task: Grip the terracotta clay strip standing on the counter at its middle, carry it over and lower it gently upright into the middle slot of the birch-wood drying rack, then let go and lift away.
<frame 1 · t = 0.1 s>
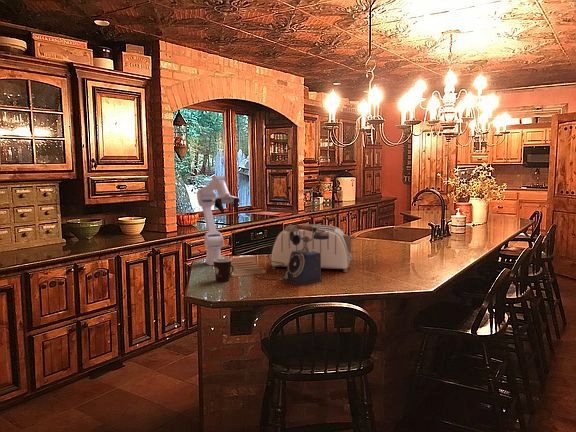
hand: (230, 211, 240), 32 cm above the worktop, tool tilted 50°, fingers open, 7 cm apart
drying rack: (243, 271, 250), on the worktop
clay strip: (243, 265, 264), on the worktop
rotary telephone: (291, 279, 235), on the worktop, touching drying rack
coffee mug: (223, 281, 229), on the worktop
toaster: (314, 267, 261), on the worktop
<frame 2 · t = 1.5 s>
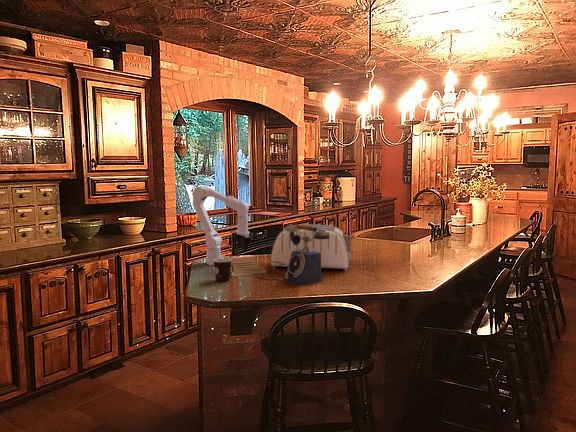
hand: (242, 248, 263), 9 cm above the worktop, tool pointing down, fingers open, 7 cm apart
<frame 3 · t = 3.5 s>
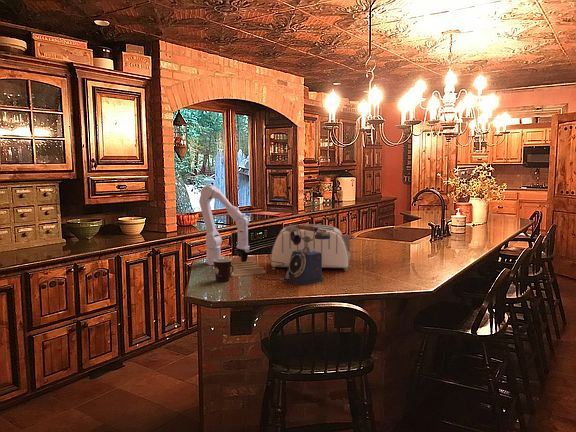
hand: (243, 262, 264), 1 cm above the worktop, tool pointing down, fingers closed on clay strip, 2 cm apart
clay strip: (243, 265, 264), on the worktop, touching gripper
rotary telephone: (292, 279, 236), on the worktop
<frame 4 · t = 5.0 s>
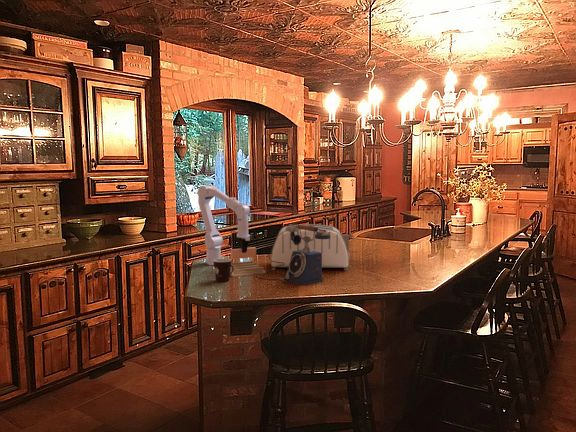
hand: (243, 252, 258), 8 cm above the worktop, tool pointing down, fingers closed on clay strip, 2 cm apart
clay strip: (243, 257, 259), point 5 cm above the worktop, touching gripper
rotary telephone: (292, 279, 235), on the worktop, touching drying rack
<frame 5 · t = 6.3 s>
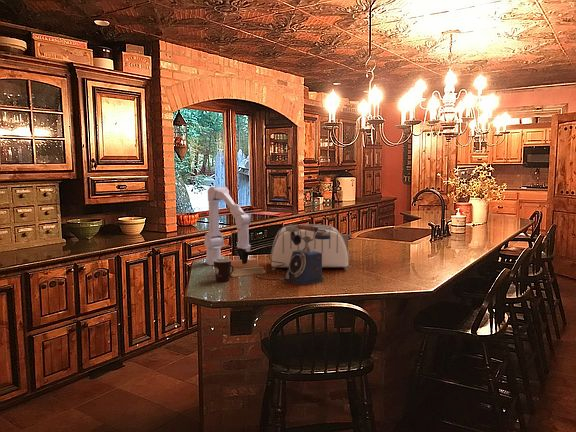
hand: (243, 263, 249), 4 cm above the worktop, tool pointing down, fingers closed on clay strip, 2 cm apart
clay strip: (243, 269, 250), point 1 cm above the worktop, touching drying rack, gripper
when the fingers open (4 cm above the worktop, at t = 6.6 s): clay strip stays where it is, resting on drying rack.
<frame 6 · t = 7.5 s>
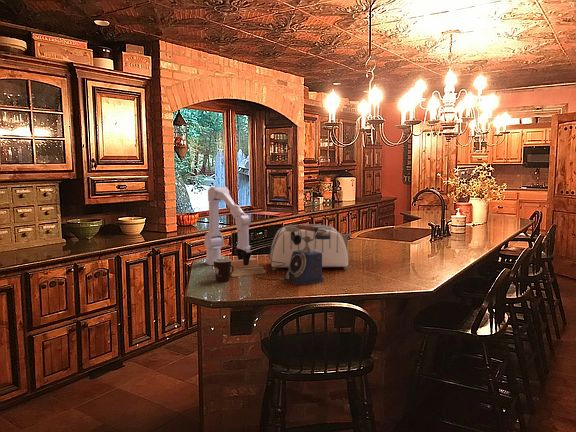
hand: (243, 263, 249), 4 cm above the worktop, tool pointing down, fingers open, 7 cm apart
clay strip: (243, 269, 250), point 1 cm above the worktop, touching drying rack
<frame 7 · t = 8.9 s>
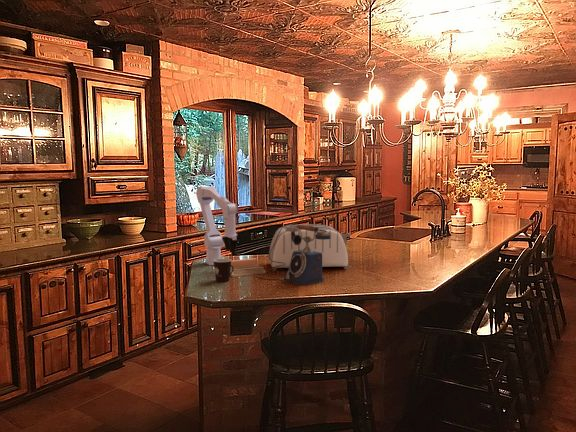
hand: (230, 251, 255), 9 cm above the worktop, tool pointing down, fingers open, 7 cm apart
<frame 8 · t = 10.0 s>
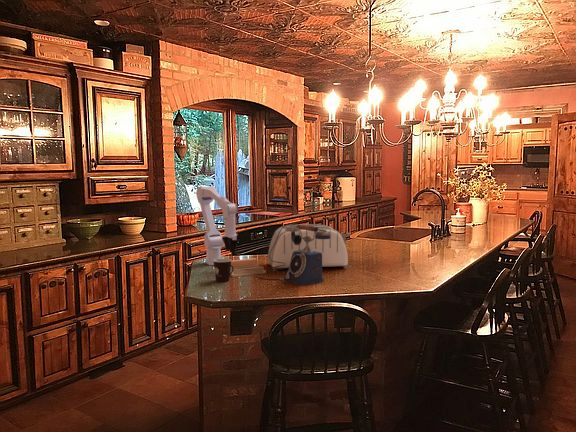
hand: (230, 251, 255), 9 cm above the worktop, tool pointing down, fingers open, 7 cm apart
at the end: clay strip 0.2 cm off-centre on the drying rack, point 1.2 cm above the drying rack's base; clay strip tilted 0°; the gripper is holding nothing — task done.
